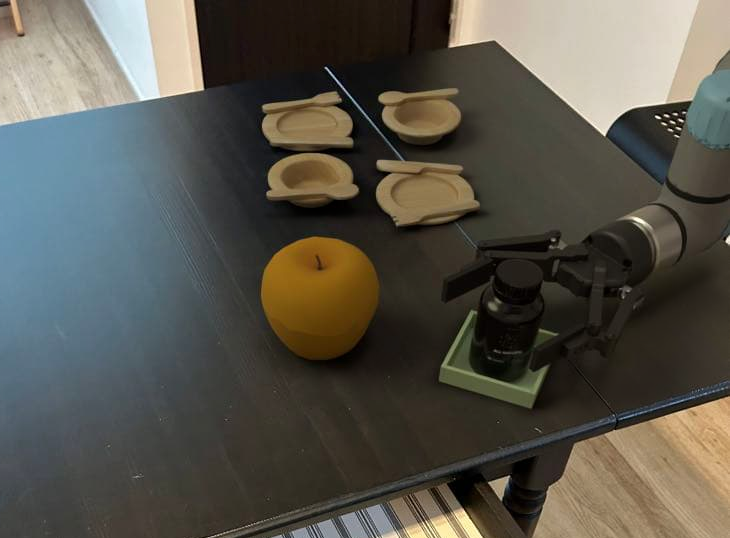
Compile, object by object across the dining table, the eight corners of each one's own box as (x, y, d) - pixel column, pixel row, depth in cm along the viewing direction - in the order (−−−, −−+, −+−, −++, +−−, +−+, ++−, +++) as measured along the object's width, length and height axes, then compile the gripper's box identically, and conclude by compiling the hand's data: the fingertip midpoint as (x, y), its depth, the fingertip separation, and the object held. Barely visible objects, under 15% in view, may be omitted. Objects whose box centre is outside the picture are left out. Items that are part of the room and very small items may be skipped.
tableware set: (263, 105, 127) (261, 78, 124) (451, 103, 128) (454, 75, 125) (259, 239, 107) (257, 210, 103) (484, 235, 107) (489, 206, 104)
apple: (248, 322, 97) (240, 236, 88) (348, 294, 100) (350, 208, 91) (290, 392, 90) (287, 306, 81) (396, 359, 93) (404, 273, 84)
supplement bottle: (494, 393, 89) (514, 302, 79) (455, 357, 92) (470, 266, 83) (542, 370, 91) (567, 278, 82) (502, 336, 95) (522, 244, 85)
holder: (555, 351, 94) (561, 334, 92) (530, 411, 88) (535, 394, 86) (468, 327, 96) (471, 309, 94) (438, 383, 91) (440, 366, 89)
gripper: (705, 337, 89) (566, 420, 82) (541, 230, 101) (408, 293, 94) (732, 279, 83) (585, 362, 76) (555, 172, 95) (413, 234, 88)
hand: (487, 324), depth 85 cm, fingers open, 13 cm apart
